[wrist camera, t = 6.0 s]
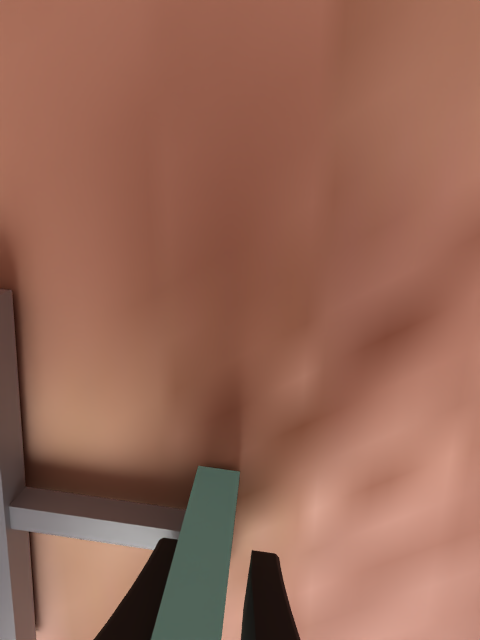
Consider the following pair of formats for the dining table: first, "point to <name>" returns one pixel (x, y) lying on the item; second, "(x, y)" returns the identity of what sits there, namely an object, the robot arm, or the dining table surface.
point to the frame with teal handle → (110, 527)
